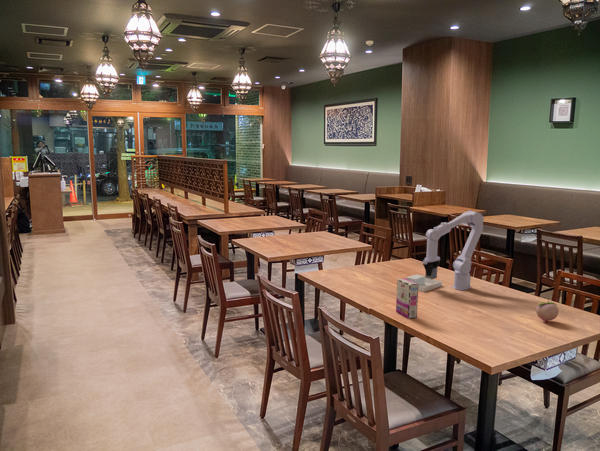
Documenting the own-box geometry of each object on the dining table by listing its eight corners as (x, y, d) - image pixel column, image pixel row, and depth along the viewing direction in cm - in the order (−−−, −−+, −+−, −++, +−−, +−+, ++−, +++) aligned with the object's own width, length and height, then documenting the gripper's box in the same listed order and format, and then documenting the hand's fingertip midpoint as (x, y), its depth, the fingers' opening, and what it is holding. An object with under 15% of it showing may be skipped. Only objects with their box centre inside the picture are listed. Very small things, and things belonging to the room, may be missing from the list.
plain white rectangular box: (415, 281, 282) (416, 274, 282) (424, 284, 278) (425, 276, 277) (406, 285, 276) (406, 277, 275) (414, 287, 271) (415, 279, 270)
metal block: (429, 276, 271) (430, 265, 270) (436, 277, 267) (437, 267, 266) (425, 277, 268) (425, 267, 267) (432, 279, 264) (433, 268, 263)
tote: (417, 281, 286) (417, 276, 286) (441, 286, 275) (441, 281, 274) (399, 286, 274) (399, 281, 274) (424, 292, 262) (424, 287, 262)
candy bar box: (417, 318, 223) (419, 283, 221) (408, 319, 221) (409, 284, 219) (404, 310, 233) (405, 277, 231) (395, 311, 232) (396, 278, 229)
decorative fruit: (545, 326, 213) (547, 304, 212) (531, 319, 221) (533, 298, 219) (562, 324, 216) (564, 302, 214) (548, 318, 224) (550, 297, 222)
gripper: (432, 248, 273) (431, 271, 275) (418, 251, 263) (417, 275, 265) (443, 249, 268) (442, 273, 270) (429, 253, 258) (428, 278, 260)
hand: (430, 274), depth 267 cm, fingers closed on metal block, 4 cm apart
